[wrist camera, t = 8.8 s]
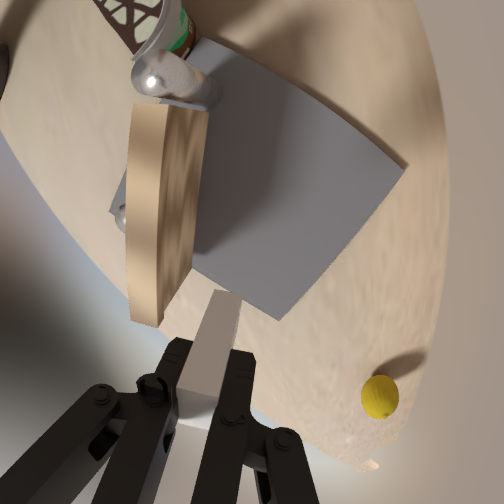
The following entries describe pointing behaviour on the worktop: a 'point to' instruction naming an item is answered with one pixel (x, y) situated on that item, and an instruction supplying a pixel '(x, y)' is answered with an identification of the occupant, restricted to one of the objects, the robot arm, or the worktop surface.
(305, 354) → the worktop surface
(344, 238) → the mat
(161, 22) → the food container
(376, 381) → the lemon
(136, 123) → the light wood flat slab
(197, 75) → the posts
